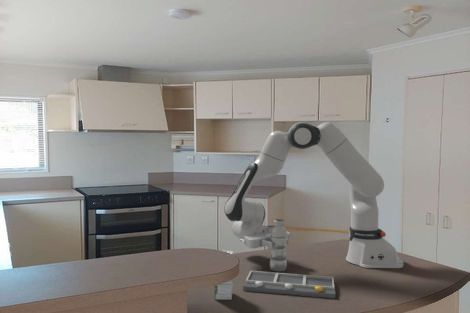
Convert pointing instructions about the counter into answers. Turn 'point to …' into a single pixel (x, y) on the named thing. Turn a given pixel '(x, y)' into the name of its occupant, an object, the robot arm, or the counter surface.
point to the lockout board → (290, 284)
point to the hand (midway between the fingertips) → (280, 243)
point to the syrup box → (224, 289)
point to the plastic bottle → (278, 247)
